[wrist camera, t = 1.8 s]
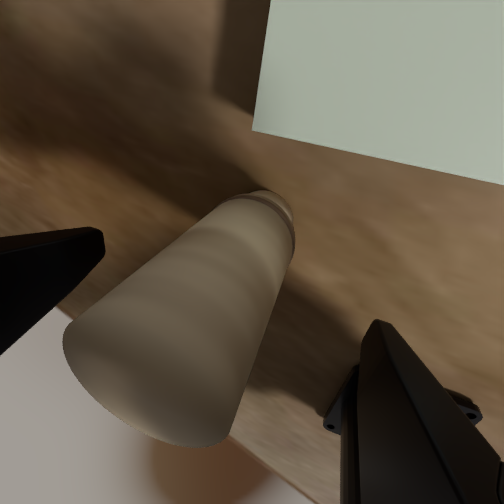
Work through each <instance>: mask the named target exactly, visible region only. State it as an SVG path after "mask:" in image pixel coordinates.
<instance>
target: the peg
mask: <svg viewBox="0 0 504 504" xmlns="http://www.w3.org/2000/svg"><path fill="white" fill-rule="evenodd" d="M294 250H295V232H294V227H293V214H292V211H291V208H290V206H289V205H288V203H287V202H286V201H285V200H284V199H283V198H282V197H281V196H279V195H278V194H276V193H274V192H271V191H266V190H258V191H254V192H251V193H249V194H240V195H235V196H233V197H230V198H227V199H226V200H224V201H222V202H221V203H219V204H218V205H217V206H216V207H214V209H213V210H212V211H211V212H210V213H209V214H208V215H206V216H205V217H204V218H203V219H201V220H200V221H199V222H198V223H196V224H195V225H194V226H192V227H191V228H190V229H189V230H187V231H186V232H185V233H184V234H182V235H181V236H180V237H179V238H177V239H176V240H175V241H173V242H172V243H171V244H170V245H168V246H167V247H166V248H165V249H163V250H162V251H161V252H160V253H158V254H157V255H156V256H154V257H153V258H152V259H151V260H149V261H148V262H147V263H146V264H144V265H143V266H142V267H141V268H139V269H138V270H137V271H135V272H134V273H133V274H132V275H130V276H129V277H128V278H127V279H125V280H124V281H123V282H121V283H120V284H119V285H118V286H116V287H115V288H114V289H113V290H111V291H110V292H109V293H108V294H106V295H105V296H104V297H102V298H101V299H100V300H99V301H97V302H96V303H95V304H94V305H92V306H91V307H90V308H89V309H87V310H86V311H85V312H83V313H82V314H81V315H80V316H78V317H77V318H76V319H75V320H73V321H72V322H71V323H70V324H69V325H68V326H67V327H66V329H65V331H64V334H63V350H64V354H65V357H66V360H67V362H68V364H69V366H70V368H71V370H72V372H73V373H74V375H75V376H76V377H77V379H78V381H79V382H80V383H81V384H82V386H83V387H84V388H85V389H86V390H87V391H88V393H89V394H90V395H91V396H92V397H93V398H94V399H95V400H96V401H97V402H99V403H100V404H101V405H102V406H103V407H104V408H105V409H107V410H108V411H109V412H111V413H112V414H113V415H115V416H116V417H117V418H119V419H120V420H122V421H123V422H125V423H126V424H128V425H130V426H131V427H133V428H135V429H137V430H138V431H140V432H142V433H144V434H146V435H149V436H151V437H153V438H156V439H158V440H161V441H164V442H167V443H170V444H174V445H179V446H185V447H194V448H198V447H199V448H201V447H209V446H212V445H215V444H217V443H219V442H221V441H222V440H224V439H225V438H226V437H227V435H228V434H229V432H230V429H231V426H232V424H233V421H234V418H235V415H236V412H237V409H238V407H239V404H240V401H241V398H242V395H243V392H244V390H245V387H246V384H247V381H248V378H249V375H250V372H251V370H252V367H253V364H254V361H255V358H256V355H257V353H258V350H259V347H260V344H261V341H262V338H263V336H264V333H265V330H266V327H267V324H268V321H269V319H270V316H271V313H272V310H273V307H274V304H275V301H276V299H277V296H278V293H279V290H280V287H281V284H282V282H283V279H284V276H285V273H286V270H287V268H288V266H289V264H290V263H291V260H292V257H293V254H294Z"/></svg>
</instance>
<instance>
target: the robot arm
mask: <svg viewBox="0 0 504 504" xmlns="http://www.w3.org/2000/svg"><path fill="white" fill-rule="evenodd" d="M104 255H105V244H104V237H103V233H102V231H101V230H99V229H96V228H93V227H81V228H73V229H64V230H56V231H48V232H40V233H31V234H23V235H15V236H7V237H0V355H2V354H3V353H4V352H5V351H6V350H7V349H8V348H9V347H10V346H11V345H13V344H14V343H15V342H16V341H17V340H18V339H19V338H20V337H21V336H23V335H24V334H25V333H26V332H27V331H28V330H29V329H30V328H32V327H33V326H34V325H35V324H36V323H37V322H38V321H39V320H40V319H42V318H43V317H44V316H45V315H46V314H47V313H48V312H49V311H50V310H52V309H53V308H54V307H55V306H56V305H57V304H58V303H59V302H61V301H62V300H63V299H64V298H65V297H66V296H67V295H68V294H69V293H70V292H71V291H73V290H74V288H75V287H76V286H77V285H78V284H79V283H80V282H81V281H82V280H83V279H84V278H85V277H86V276H87V275H88V274H89V272H90V271H91V270H92V269H93V268H94V267H95V266H96V265H97V264H98V263H99V262H100V261H101V260H102V258H103V257H104ZM482 418H483V417H482V414H481V411H480V409H479V407H478V406H477V405H475V404H473V403H470V402H467V401H464V400H462V399H459V398H456V397H453V396H450V395H449V394H448V393H447V391H446V390H445V389H444V388H443V386H442V385H441V384H440V383H439V382H438V380H437V379H436V378H435V377H434V375H433V374H432V373H431V372H430V371H429V369H428V368H427V367H426V366H425V364H424V363H423V362H422V361H421V360H420V358H419V357H418V356H417V355H416V353H415V352H414V351H413V350H412V349H411V347H410V346H409V345H408V344H407V342H406V341H405V340H404V339H403V338H402V336H401V335H400V334H399V333H398V331H397V330H396V329H395V328H394V327H393V325H392V324H390V323H388V322H385V321H382V320H379V319H375V320H374V321H373V322H372V323H371V325H370V327H369V329H368V331H367V332H366V334H365V336H364V338H363V340H362V344H361V353H360V365H356V366H354V367H353V368H352V370H351V372H350V374H349V375H348V377H347V379H346V380H345V382H344V384H343V386H342V387H341V389H340V391H339V392H338V394H337V396H336V398H335V399H334V401H333V403H332V404H331V406H330V408H329V410H328V411H327V413H326V415H325V416H324V419H323V426H324V428H325V429H327V430H329V431H331V432H334V433H336V434H339V435H341V459H340V504H504V462H502V461H501V458H500V456H499V455H498V454H497V453H496V451H495V450H494V449H493V448H492V446H491V445H490V444H489V443H488V442H487V440H486V439H485V438H484V437H483V435H482V434H481V433H480V432H479V431H478V429H477V428H476V427H475V425H476V424H477V423H478V422H479V421H481V420H482Z"/></svg>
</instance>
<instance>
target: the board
mask: <svg viewBox="0 0 504 504" xmlns="http://www.w3.org/2000/svg"><path fill="white" fill-rule="evenodd" d="M252 130H253V131H257V132H262V133H266V134H271V135H276V136H280V137H285V138H289V139H294V140H299V141H303V142H308V143H312V144H317V145H322V146H326V147H331V148H335V149H340V150H345V151H349V152H354V153H358V154H363V155H368V156H372V157H377V158H381V159H386V160H391V161H395V162H400V163H404V164H409V165H414V166H418V167H423V168H427V169H432V170H437V171H441V172H446V173H450V174H455V175H460V176H464V177H469V178H473V179H478V180H483V181H487V182H492V183H496V184H501V185H504V0H271V4H270V10H269V17H268V24H267V31H266V38H265V44H264V51H263V58H262V65H261V72H260V78H259V85H258V92H257V99H256V106H255V112H254V119H253V126H252Z"/></svg>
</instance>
